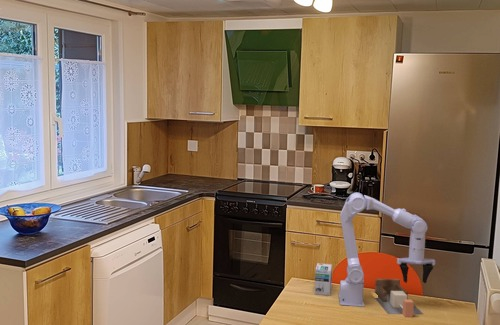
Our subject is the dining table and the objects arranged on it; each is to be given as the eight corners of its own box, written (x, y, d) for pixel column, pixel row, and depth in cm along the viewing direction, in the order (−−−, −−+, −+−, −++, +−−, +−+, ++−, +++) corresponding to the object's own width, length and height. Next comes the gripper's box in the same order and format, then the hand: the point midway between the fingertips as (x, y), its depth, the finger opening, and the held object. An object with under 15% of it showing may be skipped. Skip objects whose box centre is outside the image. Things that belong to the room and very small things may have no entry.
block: (402, 317, 202) (403, 302, 201) (389, 302, 217) (390, 288, 216) (415, 317, 202) (416, 302, 202) (402, 302, 217) (403, 288, 217)
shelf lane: (387, 314, 205) (388, 298, 204) (369, 292, 230) (370, 278, 229) (423, 314, 206) (424, 299, 205) (402, 293, 231) (402, 278, 230)
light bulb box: (330, 296, 224) (331, 270, 223) (313, 294, 225) (315, 269, 224) (331, 288, 234) (332, 263, 233) (316, 286, 235) (317, 262, 234)
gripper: (401, 250, 207) (399, 284, 208) (439, 251, 207) (436, 285, 209) (396, 245, 214) (394, 279, 215) (432, 246, 215) (430, 280, 216)
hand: (414, 282), depth 212 cm, fingers open, 7 cm apart
